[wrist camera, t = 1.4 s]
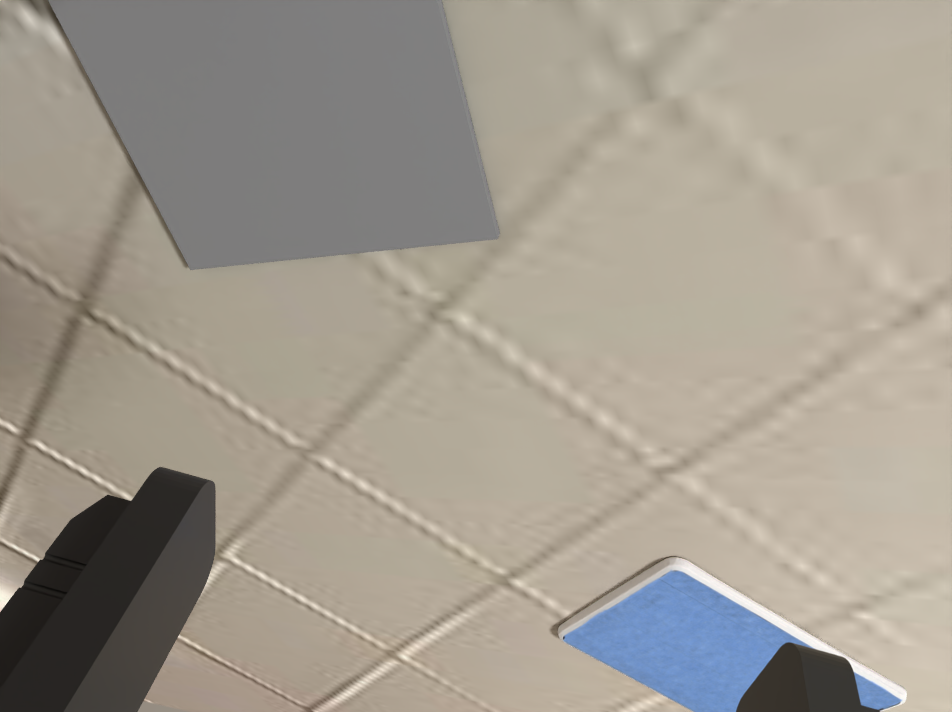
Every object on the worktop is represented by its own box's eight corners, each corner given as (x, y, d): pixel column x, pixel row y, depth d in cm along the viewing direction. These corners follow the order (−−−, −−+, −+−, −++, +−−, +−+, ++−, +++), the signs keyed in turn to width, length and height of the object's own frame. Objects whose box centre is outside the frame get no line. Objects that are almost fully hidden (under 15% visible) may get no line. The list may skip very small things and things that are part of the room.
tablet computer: (912, 685, 52) (916, 705, 51) (765, 740, 60) (767, 758, 59) (676, 543, 48) (675, 561, 47) (552, 622, 56) (550, 639, 55)
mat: (14, -83, 31) (5, -80, 31) (393, -190, 26) (389, -187, 26) (195, 264, 41) (190, 270, 40) (499, 233, 36) (497, 239, 36)
